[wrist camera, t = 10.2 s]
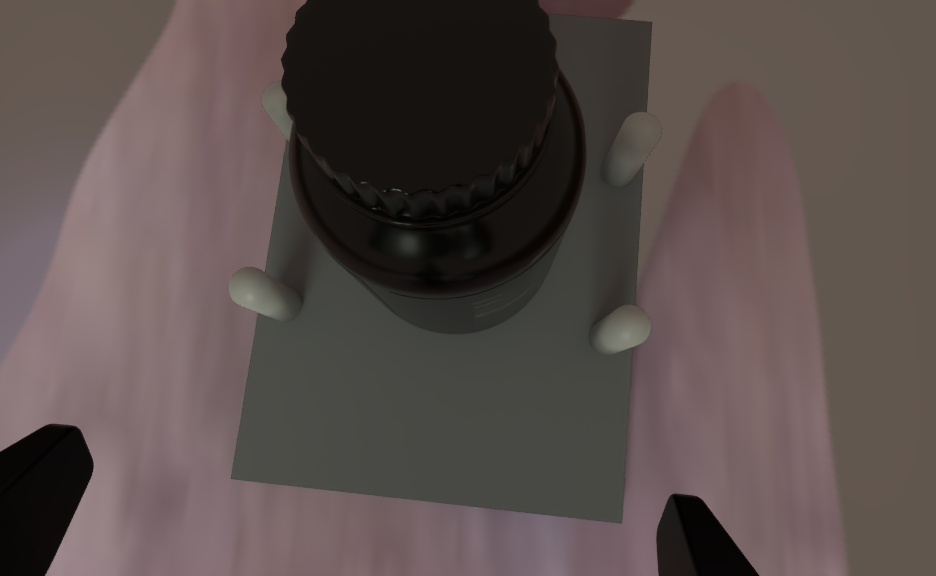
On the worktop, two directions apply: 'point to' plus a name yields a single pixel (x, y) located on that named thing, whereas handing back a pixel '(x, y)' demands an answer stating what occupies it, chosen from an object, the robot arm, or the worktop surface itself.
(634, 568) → the worktop surface
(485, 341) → the pin tray
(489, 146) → the supplement bottle
